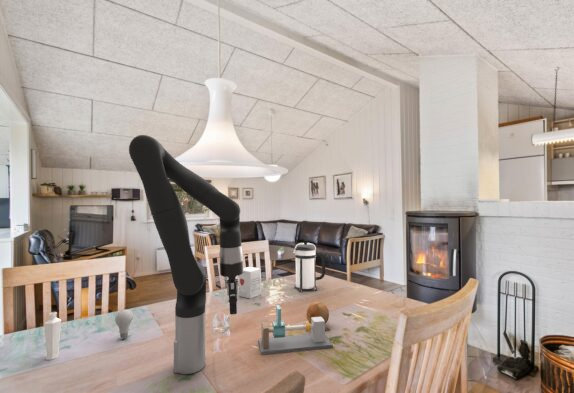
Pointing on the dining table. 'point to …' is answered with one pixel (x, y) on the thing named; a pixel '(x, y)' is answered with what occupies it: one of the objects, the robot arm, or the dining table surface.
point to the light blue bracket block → (278, 324)
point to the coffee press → (307, 266)
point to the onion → (317, 311)
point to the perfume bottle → (52, 336)
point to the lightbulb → (124, 322)
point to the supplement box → (250, 282)
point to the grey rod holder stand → (295, 338)
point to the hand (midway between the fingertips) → (233, 309)
